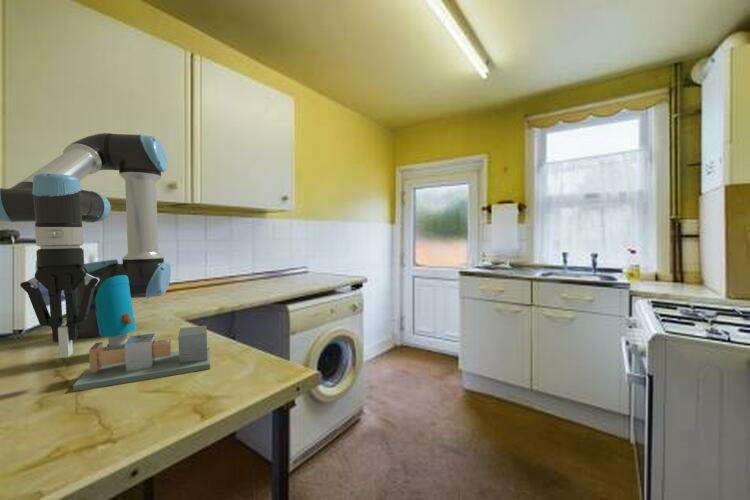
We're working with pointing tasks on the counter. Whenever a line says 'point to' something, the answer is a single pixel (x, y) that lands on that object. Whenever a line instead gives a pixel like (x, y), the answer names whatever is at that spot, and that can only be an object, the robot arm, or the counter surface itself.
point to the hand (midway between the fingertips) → (66, 355)
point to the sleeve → (139, 352)
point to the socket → (192, 344)
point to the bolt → (122, 353)
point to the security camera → (114, 310)
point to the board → (137, 372)
